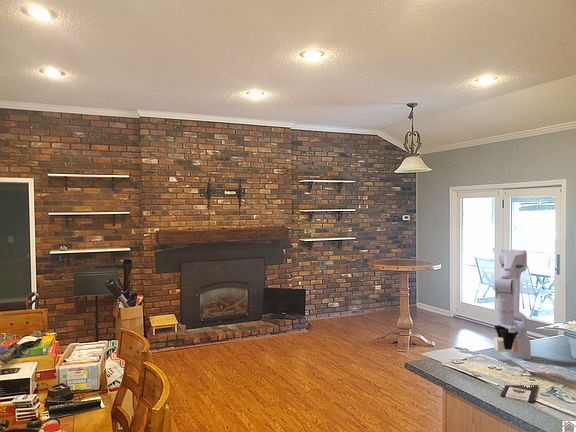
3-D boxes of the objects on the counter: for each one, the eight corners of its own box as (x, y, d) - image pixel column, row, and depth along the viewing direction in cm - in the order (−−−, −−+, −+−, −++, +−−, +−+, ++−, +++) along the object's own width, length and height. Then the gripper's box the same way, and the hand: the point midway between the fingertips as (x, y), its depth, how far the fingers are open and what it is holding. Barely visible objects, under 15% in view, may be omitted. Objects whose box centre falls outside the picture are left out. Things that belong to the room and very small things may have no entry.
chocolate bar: (538, 383, 144) (532, 401, 129) (538, 385, 144) (533, 404, 129) (508, 377, 149) (500, 395, 134) (509, 380, 149) (500, 398, 134)
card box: (493, 347, 160) (493, 337, 160) (513, 348, 158) (513, 337, 158) (497, 351, 155) (497, 340, 155) (518, 352, 154) (517, 341, 154)
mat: (510, 360, 168) (510, 359, 168) (536, 377, 150) (536, 375, 150) (455, 361, 168) (455, 359, 168) (475, 378, 150) (475, 376, 150)
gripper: (524, 315, 149) (525, 353, 149) (509, 307, 163) (510, 342, 163) (503, 314, 150) (503, 352, 150) (490, 306, 165) (491, 341, 164)
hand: (505, 347), depth 157 cm, fingers closed on card box, 4 cm apart
